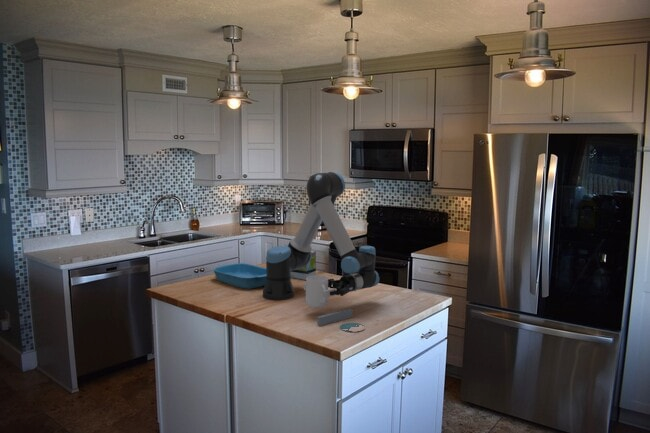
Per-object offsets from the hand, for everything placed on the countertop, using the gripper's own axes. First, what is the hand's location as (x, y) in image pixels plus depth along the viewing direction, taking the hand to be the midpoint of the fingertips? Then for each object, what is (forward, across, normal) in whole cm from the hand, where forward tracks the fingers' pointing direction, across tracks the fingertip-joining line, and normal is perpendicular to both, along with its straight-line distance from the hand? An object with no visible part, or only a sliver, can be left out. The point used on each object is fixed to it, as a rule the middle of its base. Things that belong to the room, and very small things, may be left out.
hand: (313, 290), depth 220 cm
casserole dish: (-6, +66, -13) cm, 68 cm away
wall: (-4, -10, -11) cm, 16 cm away
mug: (-3, 0, -7) cm, 8 cm away
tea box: (-37, +57, -12) cm, 69 cm away
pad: (-4, -21, -11) cm, 24 cm away
